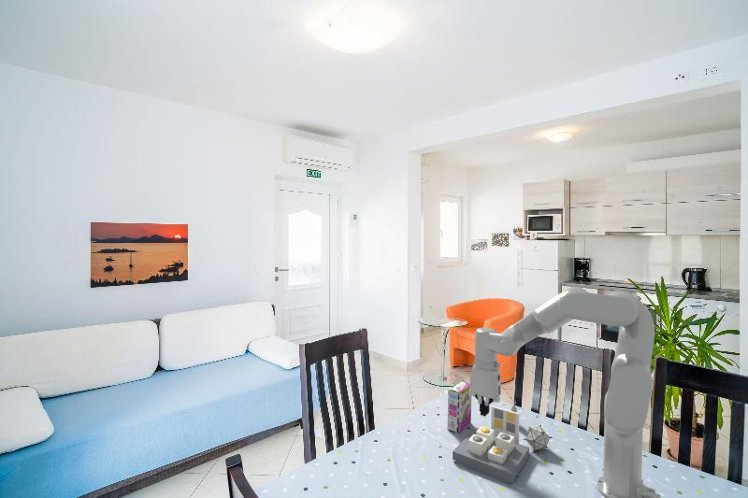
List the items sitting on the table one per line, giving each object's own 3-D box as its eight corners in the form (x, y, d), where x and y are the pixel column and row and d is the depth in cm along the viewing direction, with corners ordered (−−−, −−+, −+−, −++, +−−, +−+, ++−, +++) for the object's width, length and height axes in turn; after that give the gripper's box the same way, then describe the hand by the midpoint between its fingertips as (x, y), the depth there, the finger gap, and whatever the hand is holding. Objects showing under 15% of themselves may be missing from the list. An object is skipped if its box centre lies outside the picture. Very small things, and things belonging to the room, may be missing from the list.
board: (529, 457, 132) (529, 447, 132) (512, 484, 117) (512, 473, 117) (473, 438, 144) (473, 429, 144) (452, 461, 130) (452, 451, 129)
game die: (543, 462, 135) (556, 449, 129) (519, 451, 137) (531, 437, 131) (543, 439, 142) (556, 425, 136) (520, 428, 144) (532, 415, 138)
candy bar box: (458, 434, 147) (458, 392, 146) (447, 430, 150) (447, 389, 149) (472, 423, 155) (472, 383, 155) (460, 419, 159) (461, 380, 158)
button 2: (486, 452, 130) (487, 437, 130) (481, 459, 126) (481, 443, 126) (473, 448, 133) (473, 433, 133) (467, 454, 129) (467, 439, 129)
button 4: (507, 465, 126) (507, 449, 126) (502, 472, 122) (502, 456, 122) (493, 460, 129) (493, 444, 129) (487, 467, 125) (488, 451, 125)
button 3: (514, 450, 132) (514, 435, 131) (509, 457, 128) (509, 441, 128) (500, 445, 135) (500, 431, 134) (495, 452, 131) (495, 437, 130)
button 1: (494, 443, 136) (494, 429, 136) (489, 449, 132) (489, 435, 132) (481, 439, 139) (481, 425, 139) (476, 445, 135) (476, 430, 135)
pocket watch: (492, 422, 156) (493, 398, 155) (508, 418, 159) (508, 395, 159) (507, 432, 148) (508, 407, 148) (523, 427, 152) (524, 402, 151)
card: (520, 443, 141) (521, 411, 140) (518, 446, 138) (518, 414, 138) (494, 434, 147) (494, 403, 146) (491, 437, 144) (491, 406, 144)
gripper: (510, 365, 133) (508, 417, 134) (469, 356, 142) (468, 404, 143) (503, 371, 127) (501, 425, 128) (461, 361, 136) (460, 412, 137)
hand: (484, 414), depth 135 cm, fingers closed
